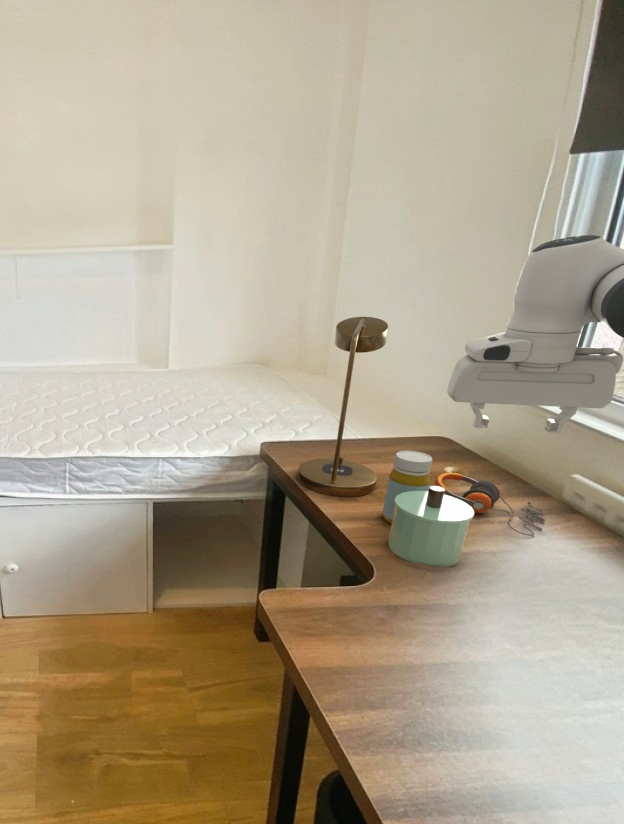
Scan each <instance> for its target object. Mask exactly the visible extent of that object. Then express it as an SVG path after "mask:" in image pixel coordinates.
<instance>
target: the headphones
mask: <svg viewBox="0 0 624 824" xmlns="http://www.w3.org/2000/svg"><path fill="white" fill-rule="evenodd" d="M444 480H446V481H447V480H454V481H462V482H466V483H469V484H471V486H470V488H469V490H466V491H465V492H464V493H463V495H462V496H460V495H458V494H456V493H453V492H451V491H450V490H449V489H448V487H446V486H445V484H444V483H443V481H444ZM434 486H439V487H442V488H444V489H445V493H444V495H448V496H451V497H454V498H457V499H459V500H461V501H463V502H465V503H467V504H468V505H469V506H471V507H472V509H473V510H474V514H475V513H476V514H482V513H485V512H487V511H496V512H505V513H507V514H508V515H509V518H508V520H507V526H508V527H509V528H510V529H512V530H513V531H515V532H517V533H519V534H521V535H524V536H527V537H533V536H535V533H534V531H532V530H531V529H530V528H529V527H531V528H534V529H536V530H539V531H543V528H542V527H540V526H538V525H535V524H534V523H536V522H538V523H540V524H545V521H546V519H544V518H543V517H541V516H540V515H545V511H543V510H541V509H540V508H538V507H535V506H533V505H531V504H532V499H530V500H529V501H528V502H527V505H528V506H529V507H530V508H528V507H526V508H522V507H521V508H520V511H522V512H523V513H525V514H528V515H524V516H521V515H520V516H518V519H519V520H521V521H522V522H524V523H522V526H523V527H524V528H525V529H526V530H528V531H529V532H530V533H531V534H527V533H524V532H520V531H519V530H517V529H515V528H514V527H512V526H511V524H510V522H511V521H512V520H513V518H514V515H515V514H514V510H513V509H512V507H511V505H510V504H508V502H506V501H505V499H504V498H503V496H501V489H500V488H499V486H498V485H497V484H495V483H494V482H491V481H489V480H479V481H478V480H477V479H473V478H471V477H470V476H469V477H468V476H465V475H463V474H461V473H456V472H445V473H441V474H440V475H439V476H438V477H436V479H435V482H434ZM499 498H500V499H501V500H502V502H503V503H504V504H505V505H506V506H507V507H508V508H509V509H510V511H511V513H510V512H509V511H508V510H505V509H494V508H492V507H493V506H494V504H495V503H496V502H497V501H498V500H499ZM531 508H532V509H531ZM533 509H535V510H533ZM536 510H537V511H536ZM538 511H539V512H538ZM529 515H530V516H529ZM527 526H529V527H527Z"/></svg>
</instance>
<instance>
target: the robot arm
mask: <svg viewBox="0 0 624 824" xmlns="http://www.w3.org/2000/svg"><path fill="white" fill-rule="evenodd" d="M589 323H602V324H603V325H606V326H607V327H609V329H611V330H612V331H613V332H614V333H615V334H616V335H617V336H619V337H621V338H623V339H624V248H621V247H619V246H617V245H615V244H613V243H611V242H609V241H607V240H606V239H604V238H603V237H602V236H600V235H596V234H587V235H585V234H584V235H578V236H569V237H562V238H557V239H553V240H550V241H547V242H544V243H542V244H540V245H538V246H537V247H535V248H534V249H533V250H532V251H531V252H529V254H528V256H527V258H526V260H525V262H524V264H523V266H522V268H521V272H520V274H519V277H518V280H517V283H516V287H515V289H514V294H513V312H512V315H511V317H510V318H509V320H508V321H507V323H506V327H505V330H504V332H499V333H495V334H492V335H488V336H483V337H478V338H474V339H471V340H468V341H467V342H466V343H465V346H464V351H465V353H466V355H463V356H462V357H461V358H460V359H458V361H457V362H456V364H455V366H454V368H453V371H452V373H451V375H450V379H449V381H448V385H447V390H446V392H447V394H448V396H449V398H450V399H451V400H452V401H453V402H456V403H470V404H469V406H470V408H471V410H472V412H473V414H474V422H473V426H474V428H476V429H487V428H488V427H489V426H488V424H489V422H490V418H489V417H488V416H487V415H482V412H481V410H484V409H485V405H486V404H494V405H515V406H516V405H517V406H535V407H536V406H537V407H538V406H539V407H559V410H560V411H561V412H560V413H558V415H556V416H555V417H554V418H547V419H546V422H545V425H544V431H546V432H547V433H558V434H560V433H561V431H562V428H563V425H564V424H565V423H566V422H567V421H568V420H570V419H571V418H573V417H574V416H575V415H576V414H577V411H578V408H581V409H582V408H583V409H584V408H585V409H604V408H605V407H607V406H609V404H611V403H612V401H613V397H614V392H615V389H616V380H617V374H618V373H619V372H620V371H621V369H622V366H623V363H624V356H623V354H622V353H621V352H620V351H618V350H615V349H614V347H613V348H612V347H590V346H588V347H586V346H579V342H580V340H581V336H582V333H583V329H584V327H585V326H586V325H587V324H589Z"/></svg>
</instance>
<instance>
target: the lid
mask: <svg viewBox="0 0 624 824" xmlns="http://www.w3.org/2000/svg"><path fill="white" fill-rule="evenodd" d="M444 493H445V489H444V488H442V487H439V486H435V485H431V486H430V485H429V489H428V492H427V491H409V492H403V493H400V494H398V495H397V496H396V497H395V501H394V502H395V505H396V507H397V508H398V509H399V510H401V511H402V512H404V513H406V514H408V515H410V516H412V517H415V518H418V519H421V520H425V521H429V522H434V523H442V524H460V523H465V522H468V521H470V522H471V520H472V519H474V517H475V512H474V510H473V509H472V507H471V506H469V505H468V504H467V503H465V502H463V501H461V500H459V499H457V498H454V497H451V496H448V495H445V494H444Z"/></svg>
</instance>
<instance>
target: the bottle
mask: <svg viewBox="0 0 624 824" xmlns="http://www.w3.org/2000/svg"><path fill="white" fill-rule="evenodd" d="M432 463H433V457H432V456H431V455H429V454H428V453H425V452H422V451H416V450H400V451H398V452H396V454H395V458H394V464H393V468H392V470H391V471H390V473H389V477H388V481H387V485H386V486H387V487H386V493H385V497H384V502H383V507H382V512H381V513H382V515H381V516H382V517H383V520H384V521H386V522H387V523H389V524H390V525H392V520H393V515H394V510H395V502H394V501H395V497H396V496H397V495H398V494H400V493H403V492H409V491H427V492H428V491H429V487H430V484H431V476H430V471H431V468H432Z"/></svg>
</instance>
